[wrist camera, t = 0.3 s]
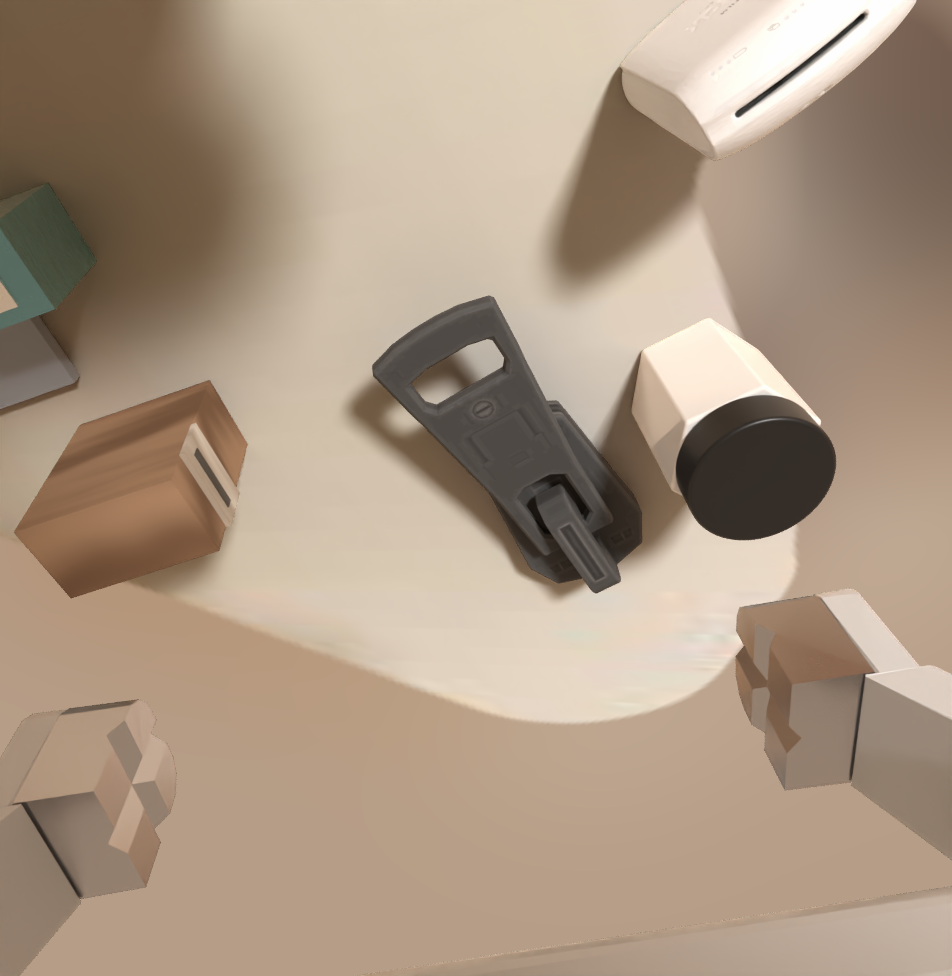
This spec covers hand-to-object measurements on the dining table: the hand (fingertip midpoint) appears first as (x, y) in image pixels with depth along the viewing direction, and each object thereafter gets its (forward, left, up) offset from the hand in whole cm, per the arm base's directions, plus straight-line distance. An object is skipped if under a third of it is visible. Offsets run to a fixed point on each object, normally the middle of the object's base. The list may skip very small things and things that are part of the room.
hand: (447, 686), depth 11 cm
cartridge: (-1, -21, -39) cm, 44 cm away
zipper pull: (+21, +1, -39) cm, 44 cm away
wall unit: (+12, -21, -38) cm, 46 cm away
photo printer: (+1, +17, -39) cm, 42 cm away
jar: (+21, +13, -39) cm, 46 cm away
